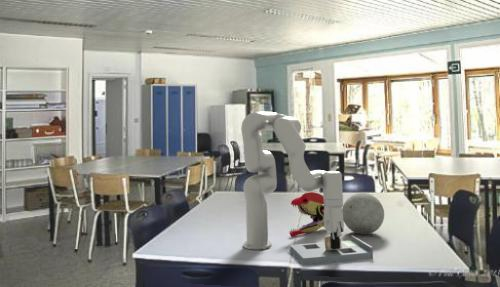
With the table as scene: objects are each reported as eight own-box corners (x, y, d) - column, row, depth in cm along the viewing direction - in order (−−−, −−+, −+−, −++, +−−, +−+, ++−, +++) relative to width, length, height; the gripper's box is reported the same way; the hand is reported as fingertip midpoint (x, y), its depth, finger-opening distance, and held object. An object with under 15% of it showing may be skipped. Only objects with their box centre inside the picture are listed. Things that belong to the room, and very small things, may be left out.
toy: (285, 235, 202) (284, 195, 201) (323, 226, 218) (323, 188, 217) (295, 239, 196) (294, 197, 195) (334, 229, 212) (333, 190, 211)
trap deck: (290, 250, 179) (289, 240, 178) (353, 245, 184) (352, 235, 184) (303, 264, 161) (303, 253, 161) (372, 258, 167) (372, 247, 166)
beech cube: (325, 250, 170) (323, 237, 172) (337, 249, 171) (335, 236, 173) (330, 249, 166) (328, 236, 167) (341, 248, 167) (339, 235, 168)
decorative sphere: (385, 230, 208) (385, 190, 207) (382, 241, 190) (382, 197, 189) (345, 227, 216) (345, 189, 215) (338, 237, 197) (338, 195, 196)
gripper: (317, 200, 171) (319, 244, 172) (331, 206, 156) (333, 254, 157) (335, 199, 173) (337, 242, 173) (350, 204, 158) (352, 252, 158)
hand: (335, 248), depth 165 cm, fingers closed
